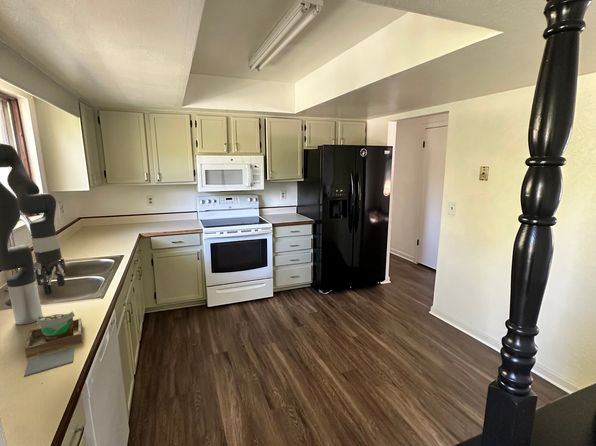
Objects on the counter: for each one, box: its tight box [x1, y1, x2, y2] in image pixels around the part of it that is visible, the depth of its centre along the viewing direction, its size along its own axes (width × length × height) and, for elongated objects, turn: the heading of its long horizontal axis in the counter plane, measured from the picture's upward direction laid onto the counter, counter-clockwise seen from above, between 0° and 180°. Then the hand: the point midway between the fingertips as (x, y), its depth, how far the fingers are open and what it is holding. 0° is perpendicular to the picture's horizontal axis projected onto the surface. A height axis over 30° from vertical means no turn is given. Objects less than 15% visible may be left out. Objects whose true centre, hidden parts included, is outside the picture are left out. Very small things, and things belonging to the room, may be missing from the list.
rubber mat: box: [23, 346, 74, 378], centre depth 111 cm, size 10×13×1 cm
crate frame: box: [24, 318, 83, 358], centre depth 124 cm, size 15×17×4 cm
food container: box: [36, 311, 76, 343], centre depth 123 cm, size 12×6×10 cm, turn 105°
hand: (55, 290), depth 120 cm, fingers open, 8 cm apart
